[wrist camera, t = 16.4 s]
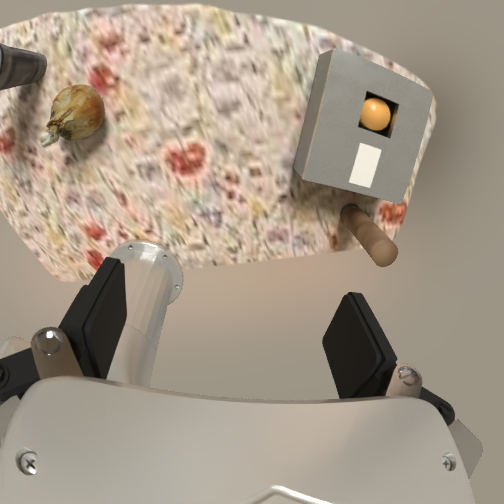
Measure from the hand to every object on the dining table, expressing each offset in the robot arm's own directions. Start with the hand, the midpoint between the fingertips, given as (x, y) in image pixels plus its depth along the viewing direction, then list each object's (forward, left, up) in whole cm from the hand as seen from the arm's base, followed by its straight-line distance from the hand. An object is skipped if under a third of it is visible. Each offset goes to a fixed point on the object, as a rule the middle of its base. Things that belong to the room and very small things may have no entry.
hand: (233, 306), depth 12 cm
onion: (-9, +19, -28) cm, 36 cm away
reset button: (+18, -5, -27) cm, 33 cm away
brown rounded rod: (+8, -17, -28) cm, 34 cm away
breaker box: (+16, -7, -28) cm, 33 cm away
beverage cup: (-10, +32, -28) cm, 44 cm away
